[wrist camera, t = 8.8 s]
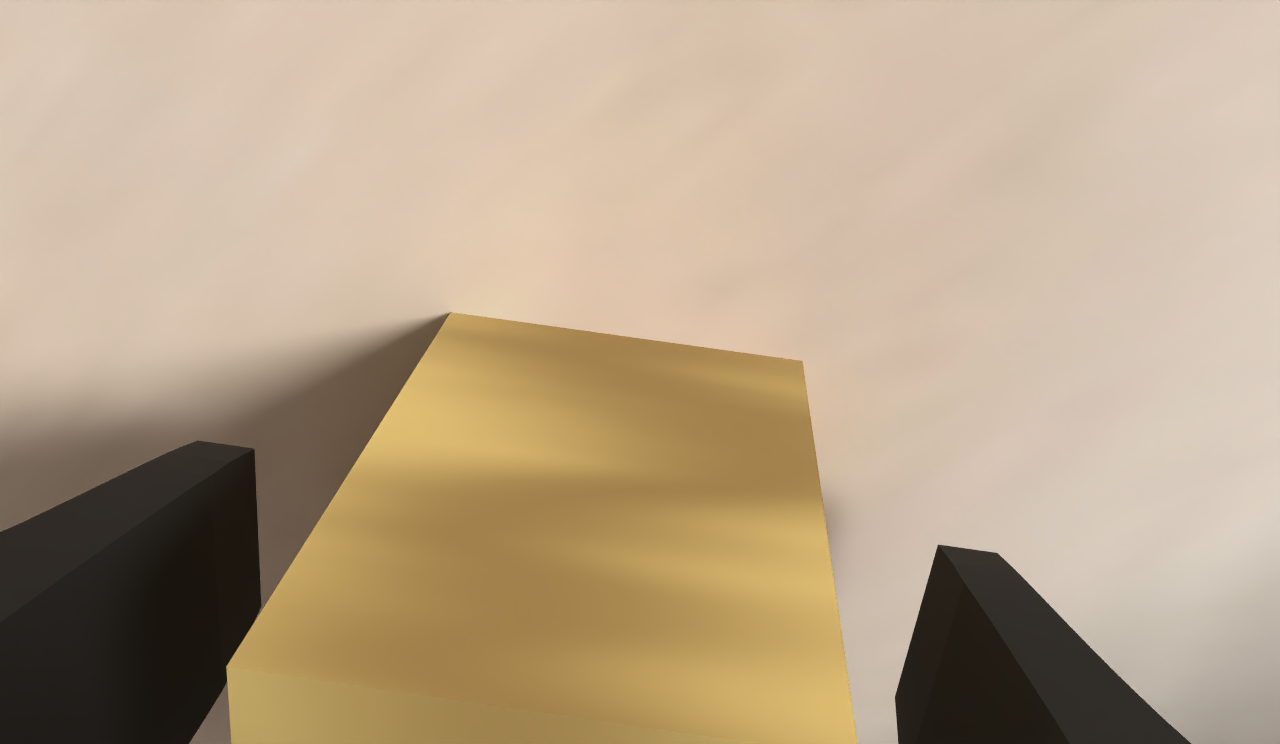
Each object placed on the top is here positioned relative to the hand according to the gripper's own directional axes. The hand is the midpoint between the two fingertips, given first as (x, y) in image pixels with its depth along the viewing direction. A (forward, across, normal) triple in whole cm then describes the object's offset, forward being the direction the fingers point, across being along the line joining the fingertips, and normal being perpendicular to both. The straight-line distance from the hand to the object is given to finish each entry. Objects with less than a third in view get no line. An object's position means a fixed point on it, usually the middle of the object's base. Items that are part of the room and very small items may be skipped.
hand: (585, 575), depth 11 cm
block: (+2, 0, 0) cm, 2 cm away
